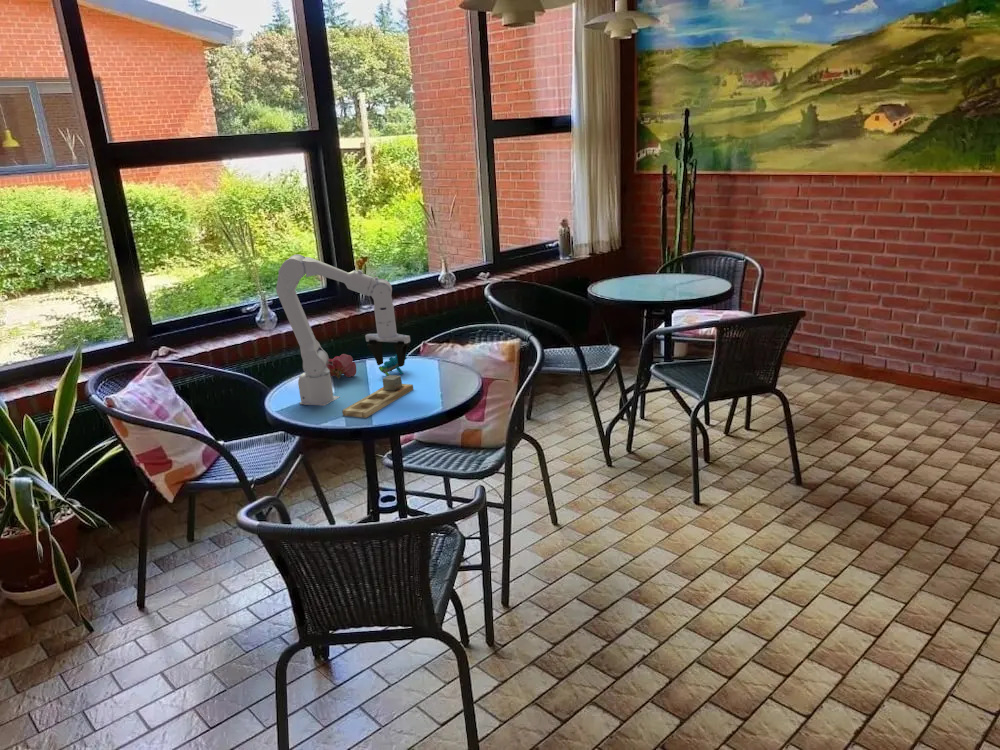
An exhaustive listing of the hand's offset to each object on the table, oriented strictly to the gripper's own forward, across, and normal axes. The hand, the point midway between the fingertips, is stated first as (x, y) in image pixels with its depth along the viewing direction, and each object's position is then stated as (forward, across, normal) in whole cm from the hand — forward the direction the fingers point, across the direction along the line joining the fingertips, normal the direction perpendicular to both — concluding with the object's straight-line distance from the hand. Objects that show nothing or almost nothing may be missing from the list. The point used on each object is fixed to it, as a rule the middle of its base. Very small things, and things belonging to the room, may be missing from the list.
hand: (390, 365), depth 223 cm
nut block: (+9, 0, 0) cm, 9 cm away
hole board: (+9, 0, -8) cm, 12 cm away
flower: (+10, -28, +10) cm, 32 cm away
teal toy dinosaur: (+10, -12, +19) cm, 24 cm away
